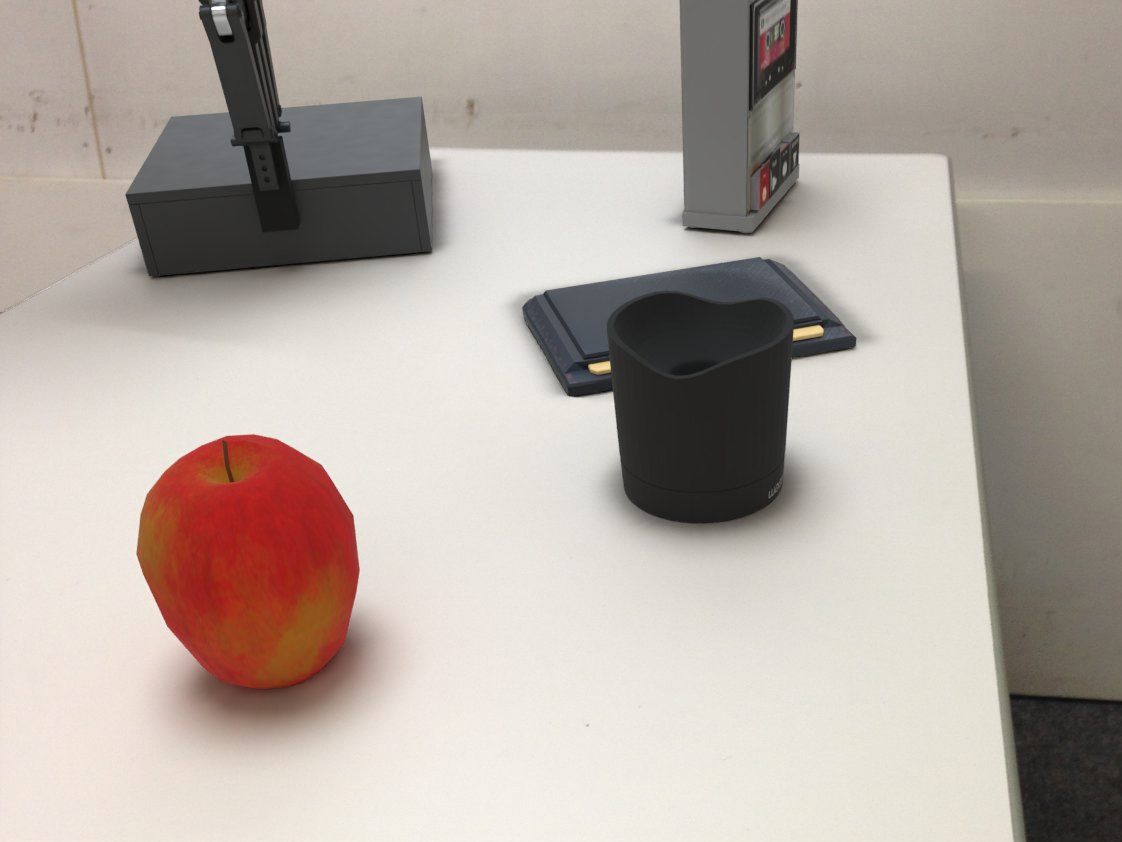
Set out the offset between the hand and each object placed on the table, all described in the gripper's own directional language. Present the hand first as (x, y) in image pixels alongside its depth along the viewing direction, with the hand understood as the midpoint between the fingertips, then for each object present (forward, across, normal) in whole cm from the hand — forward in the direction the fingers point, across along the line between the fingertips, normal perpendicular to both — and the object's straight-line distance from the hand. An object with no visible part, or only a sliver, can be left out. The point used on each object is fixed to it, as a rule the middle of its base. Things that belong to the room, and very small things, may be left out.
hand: (281, 227), depth 98 cm
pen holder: (+4, -40, -26) cm, 48 cm away
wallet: (+4, -18, -28) cm, 34 cm away
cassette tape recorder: (+4, +6, -37) cm, 38 cm away
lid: (+3, +11, 0) cm, 12 cm away
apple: (+4, -51, -4) cm, 52 cm away
